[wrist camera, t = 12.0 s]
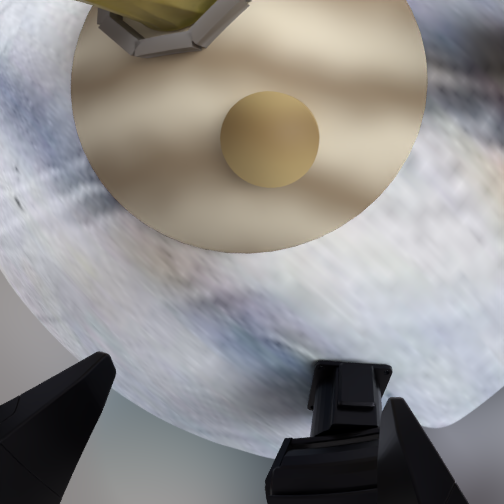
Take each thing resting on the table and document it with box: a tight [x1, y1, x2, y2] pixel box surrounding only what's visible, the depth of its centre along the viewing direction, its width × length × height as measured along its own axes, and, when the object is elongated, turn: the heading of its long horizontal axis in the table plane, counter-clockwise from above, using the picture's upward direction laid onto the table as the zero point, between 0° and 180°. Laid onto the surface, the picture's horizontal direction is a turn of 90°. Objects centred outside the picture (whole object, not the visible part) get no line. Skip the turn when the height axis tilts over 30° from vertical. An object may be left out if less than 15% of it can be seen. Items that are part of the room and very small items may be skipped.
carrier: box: [71, 0, 427, 253], centre depth 15 cm, size 23×23×3 cm
